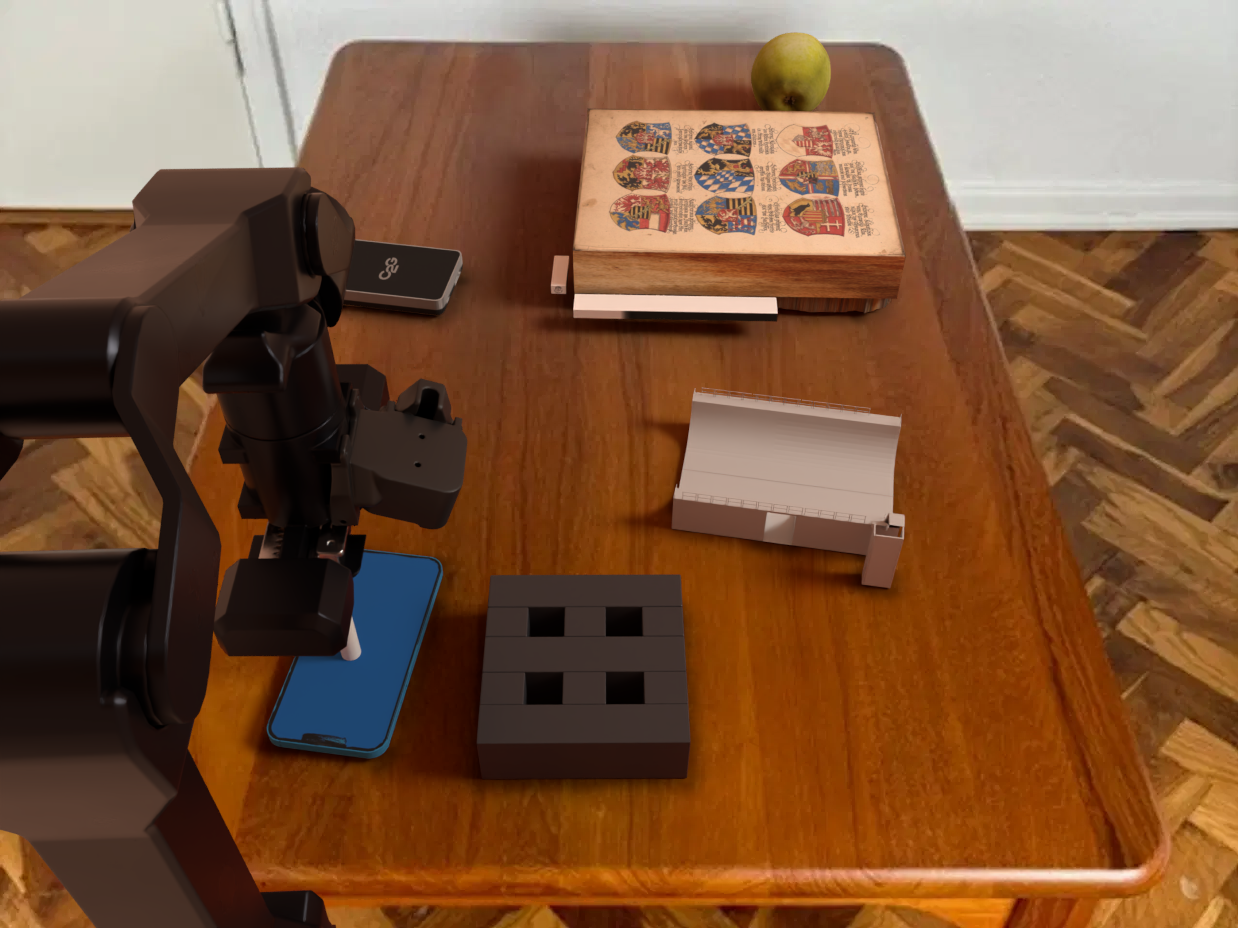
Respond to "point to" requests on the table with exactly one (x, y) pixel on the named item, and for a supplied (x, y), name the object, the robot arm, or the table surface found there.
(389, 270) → the external hard drive
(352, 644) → the stylus
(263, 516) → the robot arm
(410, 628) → the smartphone
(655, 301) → the book
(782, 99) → the apple
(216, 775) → the table surface
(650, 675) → the pen stand
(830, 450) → the skate ramp
